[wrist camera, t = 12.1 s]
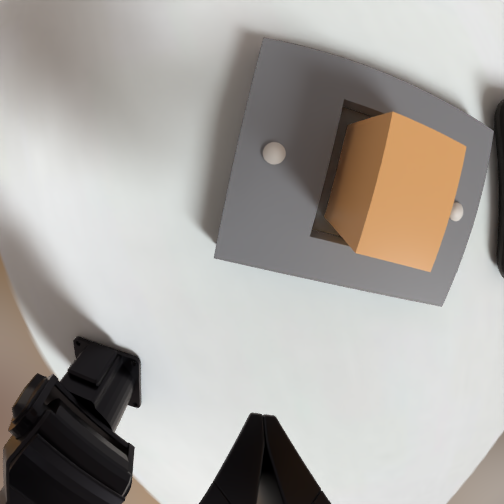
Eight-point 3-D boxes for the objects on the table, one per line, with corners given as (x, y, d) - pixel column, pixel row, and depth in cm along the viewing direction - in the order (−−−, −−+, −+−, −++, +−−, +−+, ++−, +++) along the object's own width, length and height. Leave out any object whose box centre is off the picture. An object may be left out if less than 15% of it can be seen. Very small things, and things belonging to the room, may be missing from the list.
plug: (379, 232, 18) (430, 272, 12) (324, 216, 18) (355, 253, 12) (403, 145, 17) (466, 146, 10) (347, 125, 16) (392, 111, 10)
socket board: (429, 294, 20) (443, 307, 18) (218, 247, 19) (213, 259, 17) (477, 130, 16) (495, 130, 13) (263, 49, 15) (263, 36, 13)
